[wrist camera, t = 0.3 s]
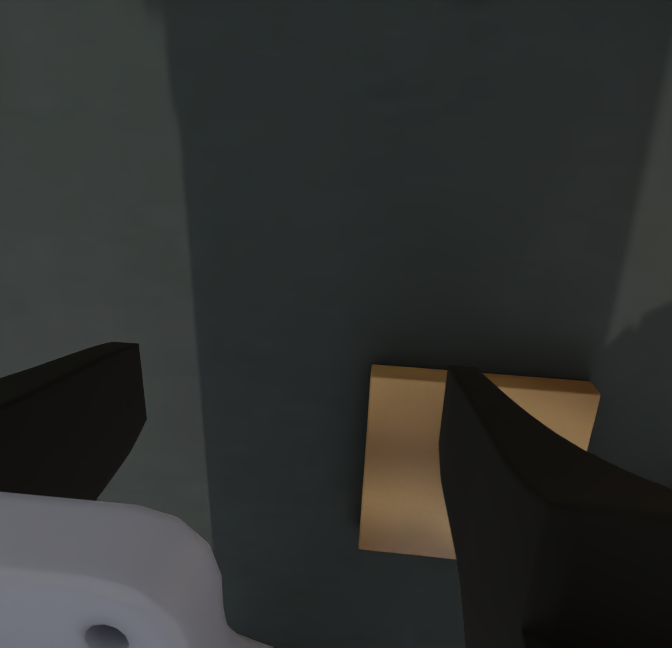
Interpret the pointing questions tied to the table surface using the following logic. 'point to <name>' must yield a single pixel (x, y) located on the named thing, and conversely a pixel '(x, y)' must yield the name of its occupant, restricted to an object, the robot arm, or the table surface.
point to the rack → (423, 450)
